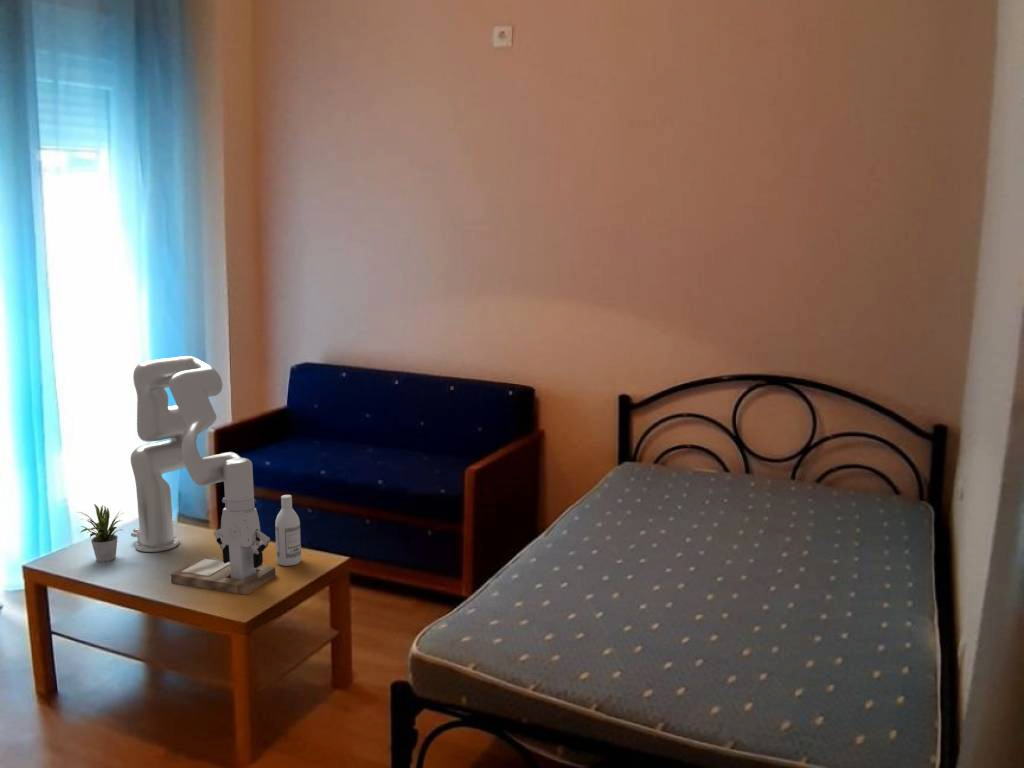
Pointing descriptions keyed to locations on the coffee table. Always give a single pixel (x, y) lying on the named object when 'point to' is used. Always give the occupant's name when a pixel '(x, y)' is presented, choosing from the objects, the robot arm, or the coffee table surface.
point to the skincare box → (241, 562)
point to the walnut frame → (220, 576)
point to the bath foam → (287, 534)
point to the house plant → (103, 535)
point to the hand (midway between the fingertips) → (242, 563)
